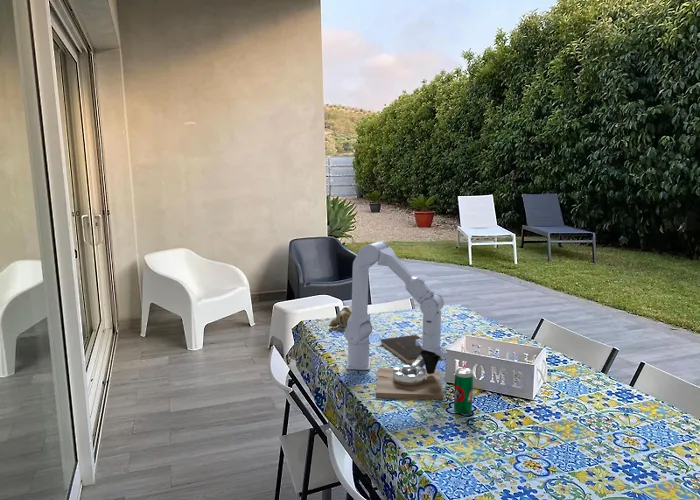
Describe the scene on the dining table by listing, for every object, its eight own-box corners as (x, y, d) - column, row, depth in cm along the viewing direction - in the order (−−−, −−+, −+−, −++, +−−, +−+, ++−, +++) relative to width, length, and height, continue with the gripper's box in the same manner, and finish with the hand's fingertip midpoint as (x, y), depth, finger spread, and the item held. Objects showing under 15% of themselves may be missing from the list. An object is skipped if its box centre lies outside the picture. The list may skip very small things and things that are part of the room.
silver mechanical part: (419, 388, 171) (419, 377, 170) (388, 383, 175) (388, 372, 174) (436, 367, 188) (437, 357, 187) (408, 362, 192) (408, 353, 191)
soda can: (472, 415, 157) (473, 375, 155) (453, 414, 158) (454, 373, 156) (471, 407, 161) (473, 368, 159) (453, 406, 162) (455, 366, 160)
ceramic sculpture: (362, 303, 242) (351, 314, 228) (363, 322, 244) (351, 334, 230) (339, 301, 245) (326, 312, 231) (340, 320, 247) (327, 332, 233)
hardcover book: (407, 365, 195) (407, 359, 195) (380, 345, 216) (380, 339, 216) (447, 359, 201) (447, 353, 201) (416, 340, 222) (417, 334, 222)
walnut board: (378, 372, 188) (378, 367, 188) (438, 373, 186) (438, 369, 186) (375, 397, 168) (375, 392, 168) (443, 399, 167) (443, 394, 166)
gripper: (456, 336, 174) (454, 378, 177) (428, 324, 187) (427, 363, 189) (437, 340, 171) (436, 382, 173) (410, 327, 184) (409, 367, 186)
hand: (430, 372), depth 181 cm, fingers closed
